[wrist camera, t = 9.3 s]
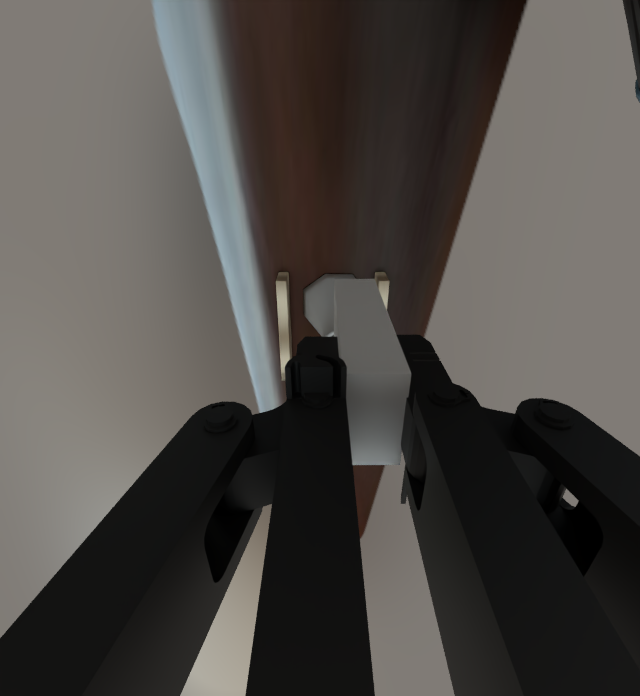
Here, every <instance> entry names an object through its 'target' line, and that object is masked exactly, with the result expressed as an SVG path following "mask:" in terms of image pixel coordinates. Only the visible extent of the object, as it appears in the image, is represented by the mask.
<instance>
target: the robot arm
mask: <svg viewBox="0 0 640 696" xmlns="http://www.w3.org/2000/svg"><path fill="white" fill-rule="evenodd" d="M623 4H624V9H625V14H626V19H627V23H628V29H629V35H630V40H631V46H632V52H633V58H634V63H635V69H636V75H637V80H636V85H635V89H636V97H637V99H638V101H639V102H640V0H623ZM285 381H286V395H287V401H286V402H285V403H284V404H282V405H281V406H279V407H277V408H275V409H273V410H270V411H267V412H263V413H259V414H254V415H252V413H251V410H250V409H248V408H247V407H246V406H245V405H243V404H240V403H236V402H219V403H215V404H210V405H208V406H206V407H204V408H202V409H200V410H198V411H197V412H196V413H195V414H194V415H192V416H191V418H190V419H189V420H188V421H187V422H186V423H185V424H184V426H183V427H182V428H181V429H180V430H179V431H178V433H177V434H176V435H175V436H174V437H173V438H172V440H171V441H170V442H169V443H168V444H167V446H166V447H165V448H164V449H163V450H162V451H161V452H160V454H159V455H158V456H157V457H156V458H155V459H154V460H153V462H152V463H151V464H150V465H149V466H148V467H147V469H146V470H145V471H144V472H143V473H142V474H141V476H140V477H139V478H138V479H137V480H136V481H135V483H134V484H133V485H132V486H131V487H130V488H129V490H128V491H127V492H126V493H125V494H124V495H123V496H122V498H121V499H120V500H119V501H118V502H117V503H116V505H115V506H114V507H113V508H112V509H111V510H110V512H109V513H108V514H107V515H106V516H105V517H104V519H103V520H102V521H101V522H100V523H99V524H98V526H97V527H96V528H95V529H94V530H93V532H91V534H90V535H89V536H88V537H87V538H86V539H85V541H84V542H83V543H82V544H81V545H80V547H79V548H78V549H77V550H76V551H75V552H74V553H73V555H72V556H71V557H70V558H69V559H68V560H67V561H66V563H65V564H64V565H63V566H62V567H61V569H60V570H59V571H58V572H57V573H56V574H55V575H54V577H53V578H52V579H51V580H50V581H49V582H48V584H47V585H46V586H45V587H44V588H43V589H42V591H41V592H40V593H39V594H38V595H37V596H36V598H35V599H34V600H33V601H32V603H30V605H29V606H28V607H27V608H26V609H25V610H24V611H23V613H22V614H21V615H20V616H19V617H18V618H17V620H16V621H15V622H14V623H13V624H12V625H11V627H10V628H9V629H8V630H7V631H6V633H5V634H4V635H3V636H2V637H1V638H0V696H180V694H181V692H182V690H183V688H184V685H185V683H186V681H187V678H188V676H189V674H190V672H191V670H192V667H193V665H194V663H195V660H196V658H197V656H198V654H199V651H200V649H201V647H202V645H203V643H204V641H205V638H206V636H207V634H208V632H209V629H210V627H211V625H212V622H213V620H214V618H215V616H216V613H217V611H218V609H219V607H220V604H221V602H222V600H223V598H224V596H225V593H226V591H227V589H228V587H229V584H230V582H231V580H232V578H233V575H234V573H235V571H236V569H237V566H238V564H239V562H240V560H241V557H242V555H243V553H244V551H245V548H246V546H247V544H248V542H249V539H250V537H251V535H252V533H253V530H254V528H255V526H256V524H257V521H258V519H259V517H260V515H261V512H262V508H263V506H267V505H269V504H272V509H271V516H270V523H269V530H268V538H267V545H266V552H265V559H264V567H263V574H262V581H261V588H260V595H259V602H258V610H257V617H256V624H255V632H254V639H253V646H252V653H251V660H250V667H249V675H248V682H247V689H246V696H375V694H374V683H373V672H372V662H371V652H370V642H369V631H368V620H367V610H366V600H365V589H364V579H363V569H362V559H361V548H360V537H359V527H358V517H357V506H356V496H355V486H354V475H353V465H400V460H401V452H403V455H404V459H405V463H406V464H405V471H404V478H403V486H402V493H401V504H405V503H406V497H408V501H409V505H410V509H411V513H412V518H413V522H414V526H415V530H416V534H417V539H418V543H419V547H420V551H421V555H422V560H423V564H424V568H425V572H426V576H427V580H428V585H429V589H430V593H431V597H432V602H433V606H434V610H435V614H436V618H437V622H438V627H439V631H440V635H441V639H442V644H443V648H444V652H445V656H446V660H447V665H448V669H449V673H450V677H451V681H452V686H453V690H454V694H455V696H640V456H638V455H637V454H636V453H634V452H633V451H632V450H630V449H629V448H628V447H626V446H625V445H623V444H622V443H621V442H619V441H618V440H617V439H615V438H614V437H613V436H611V435H610V434H608V433H607V432H606V431H604V430H603V429H602V428H600V427H599V426H597V425H596V424H595V423H594V422H592V421H591V420H590V419H588V418H587V417H586V416H584V415H583V414H581V413H580V412H578V411H577V410H575V409H573V408H572V407H570V406H568V405H565V404H562V403H559V402H558V401H554V400H548V399H543V398H538V399H537V398H535V399H528V400H525V401H522V402H521V403H520V404H519V406H518V407H517V410H516V413H515V414H513V413H507V412H502V411H497V410H492V409H487V408H484V407H481V406H480V404H479V403H478V401H477V399H476V398H475V397H474V395H473V394H472V393H471V392H470V391H468V390H467V389H465V388H463V387H461V386H459V385H456V384H453V383H452V381H451V379H450V377H449V376H448V374H447V372H446V370H445V369H444V366H443V365H442V363H441V361H439V357H438V356H437V354H436V353H435V350H434V348H433V346H432V345H431V343H430V342H429V341H427V340H426V339H425V338H423V337H422V336H420V335H396V333H395V330H394V328H393V325H392V323H391V320H390V317H389V315H388V312H387V310H386V307H385V305H384V302H383V299H382V297H381V294H380V292H379V289H378V287H377V284H376V281H375V279H334V337H305V338H304V339H303V340H302V341H301V342H300V343H299V344H298V345H297V353H296V356H295V357H293V358H292V359H290V360H289V361H288V362H287V364H286V366H285ZM566 488H567V489H568V490H569V491H570V492H571V493H572V494H573V495H574V496H575V497H576V498H577V499H578V500H579V502H578V504H577V506H576V507H574V506H571V505H570V504H569V503H568V502H566V501H565V500H564V499H563V498H562V497H563V495H564V493H565V490H566Z"/></svg>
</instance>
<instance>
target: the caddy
mask: <svg viewBox="0 0 640 696" xmlns="http://www.w3.org/2000/svg"><path fill="white" fill-rule="evenodd" d="M375 281H376V284H377V287H378V289H379V292H380V294H381V297H382V299H383V302H384V305H385V307H386V310H387V302H388V291H389V279H388V277H387V275H386V273H385V272H375ZM276 291H277V308H278V325H279V342H280V358H281V375H282V380H285V366H286V364H287V362H288V361H289V360H290V359H292V340H291V317H290V293H289V272H279V273H278V276H277V279H276Z"/></svg>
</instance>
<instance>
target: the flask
mask: <svg viewBox="0 0 640 696" xmlns="http://www.w3.org/2000/svg"><path fill="white" fill-rule="evenodd" d="M334 279H356V278H355V277H354V275H353V274H324V275H323V276H322V277H320V278H319V279H317V280H316V281H315V282H313V283H312V284H310V285H309V286H308V287H306V288H305V289H303V303H304V315H305V317H306V318H307V319H308V320H309V322H310V323H311V324H312V325H313V326H314V328H315V329H316V330H317V331H318V333H319V334H320V335H321V336H322V337H334Z"/></svg>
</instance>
